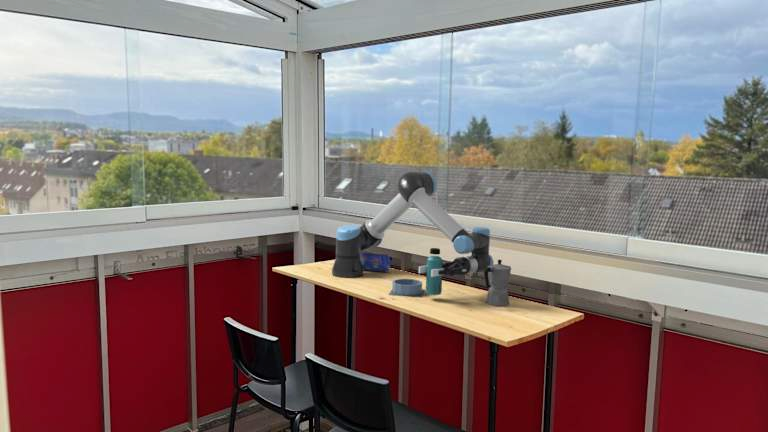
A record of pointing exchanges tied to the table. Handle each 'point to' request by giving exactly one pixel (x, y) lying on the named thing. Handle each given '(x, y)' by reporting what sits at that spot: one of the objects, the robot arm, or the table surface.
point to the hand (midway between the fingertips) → (425, 271)
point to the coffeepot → (497, 284)
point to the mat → (408, 296)
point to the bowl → (407, 287)
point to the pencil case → (375, 262)
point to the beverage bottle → (434, 282)
